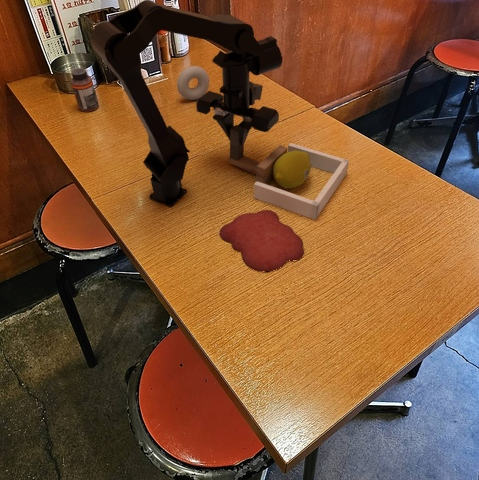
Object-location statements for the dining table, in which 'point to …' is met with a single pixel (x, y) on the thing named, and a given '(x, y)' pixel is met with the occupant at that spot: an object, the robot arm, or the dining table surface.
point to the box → (301, 203)
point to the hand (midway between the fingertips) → (237, 142)
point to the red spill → (263, 240)
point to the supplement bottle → (84, 90)
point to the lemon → (292, 169)
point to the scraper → (259, 169)
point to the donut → (185, 79)
